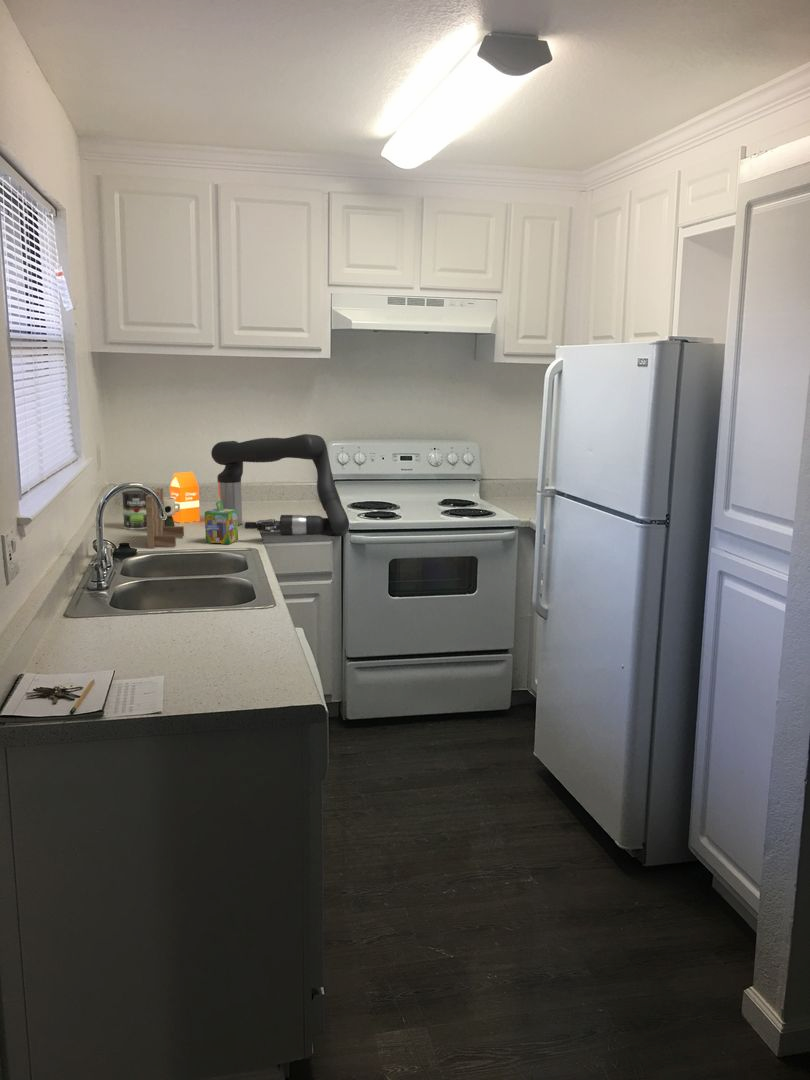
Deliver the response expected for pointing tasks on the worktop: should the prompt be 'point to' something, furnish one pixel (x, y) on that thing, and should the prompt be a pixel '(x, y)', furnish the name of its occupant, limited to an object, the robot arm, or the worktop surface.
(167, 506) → the character mug
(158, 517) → the display bay
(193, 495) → the orange juice
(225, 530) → the chalk box
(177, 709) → the worktop surface
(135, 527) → the coffee can
